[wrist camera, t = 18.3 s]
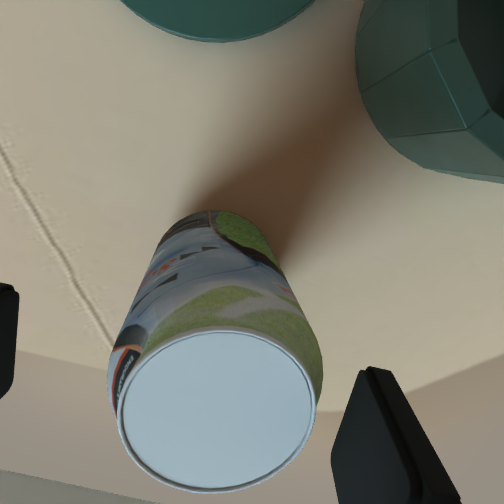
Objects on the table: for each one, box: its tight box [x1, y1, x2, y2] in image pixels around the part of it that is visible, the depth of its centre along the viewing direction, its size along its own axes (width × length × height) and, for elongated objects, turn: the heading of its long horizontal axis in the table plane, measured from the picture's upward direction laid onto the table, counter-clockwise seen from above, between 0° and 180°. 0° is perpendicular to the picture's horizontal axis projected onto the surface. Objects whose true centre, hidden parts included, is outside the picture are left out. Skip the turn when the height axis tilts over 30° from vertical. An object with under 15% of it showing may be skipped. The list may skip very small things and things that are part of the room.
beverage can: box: [107, 210, 323, 494], centre depth 15 cm, size 6×7×12 cm
